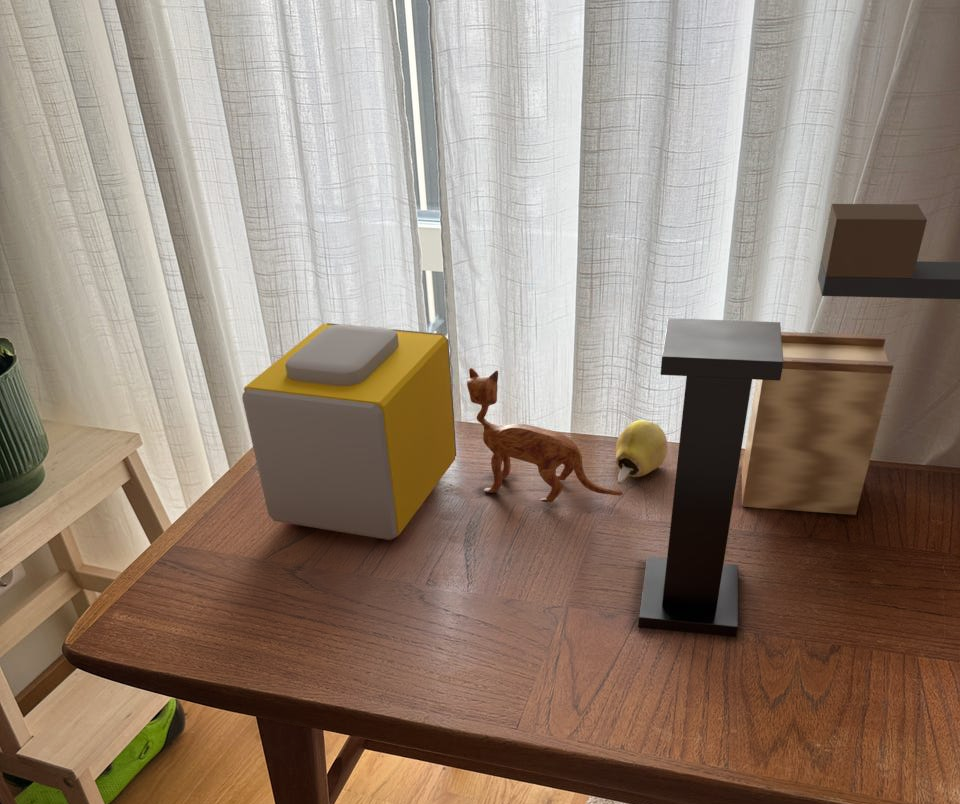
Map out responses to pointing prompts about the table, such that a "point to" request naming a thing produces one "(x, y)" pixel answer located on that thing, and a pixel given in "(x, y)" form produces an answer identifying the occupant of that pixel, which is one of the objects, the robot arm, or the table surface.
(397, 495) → the alarm clock
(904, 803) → the table surface
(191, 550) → the table surface
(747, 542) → the table surface
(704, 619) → the shelf stand
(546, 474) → the cat figurine
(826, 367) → the wavy wood-grain slab
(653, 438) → the fruit
